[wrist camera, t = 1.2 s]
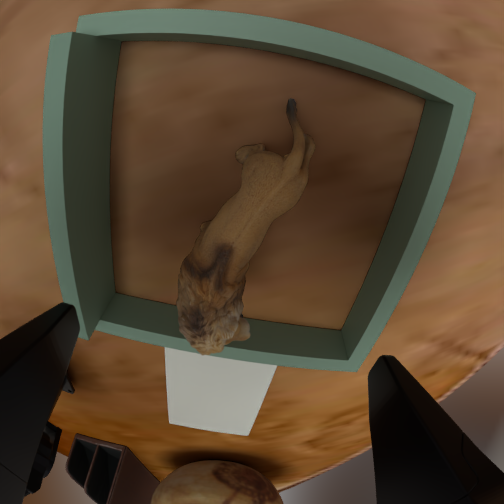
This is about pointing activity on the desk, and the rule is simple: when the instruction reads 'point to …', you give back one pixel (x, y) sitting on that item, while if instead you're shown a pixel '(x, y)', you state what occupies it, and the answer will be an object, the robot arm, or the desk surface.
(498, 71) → the desk surface
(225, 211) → the lion figurine
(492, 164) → the desk surface
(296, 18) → the desk surface
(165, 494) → the clay pot
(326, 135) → the desk surface
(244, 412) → the tile pad
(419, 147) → the cold frame
